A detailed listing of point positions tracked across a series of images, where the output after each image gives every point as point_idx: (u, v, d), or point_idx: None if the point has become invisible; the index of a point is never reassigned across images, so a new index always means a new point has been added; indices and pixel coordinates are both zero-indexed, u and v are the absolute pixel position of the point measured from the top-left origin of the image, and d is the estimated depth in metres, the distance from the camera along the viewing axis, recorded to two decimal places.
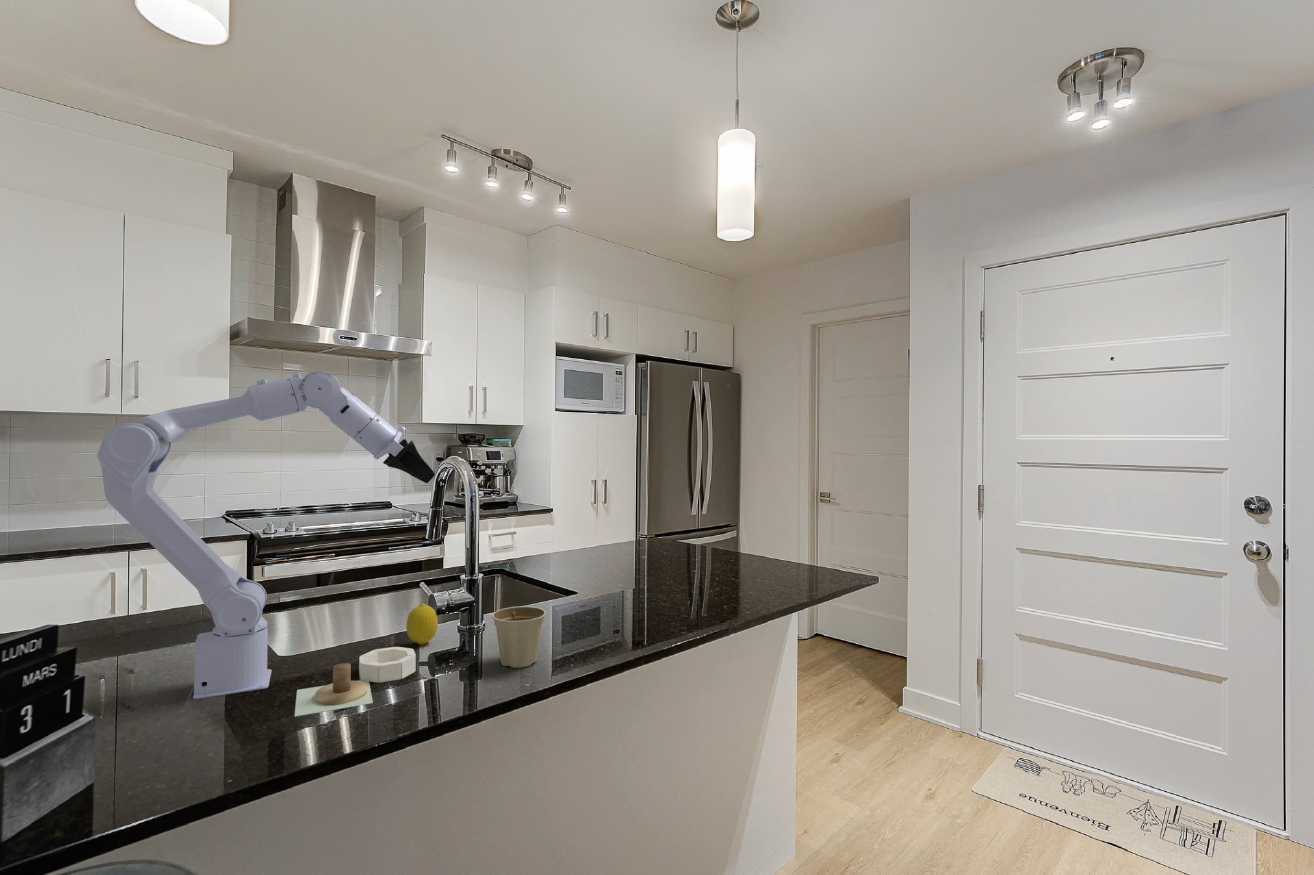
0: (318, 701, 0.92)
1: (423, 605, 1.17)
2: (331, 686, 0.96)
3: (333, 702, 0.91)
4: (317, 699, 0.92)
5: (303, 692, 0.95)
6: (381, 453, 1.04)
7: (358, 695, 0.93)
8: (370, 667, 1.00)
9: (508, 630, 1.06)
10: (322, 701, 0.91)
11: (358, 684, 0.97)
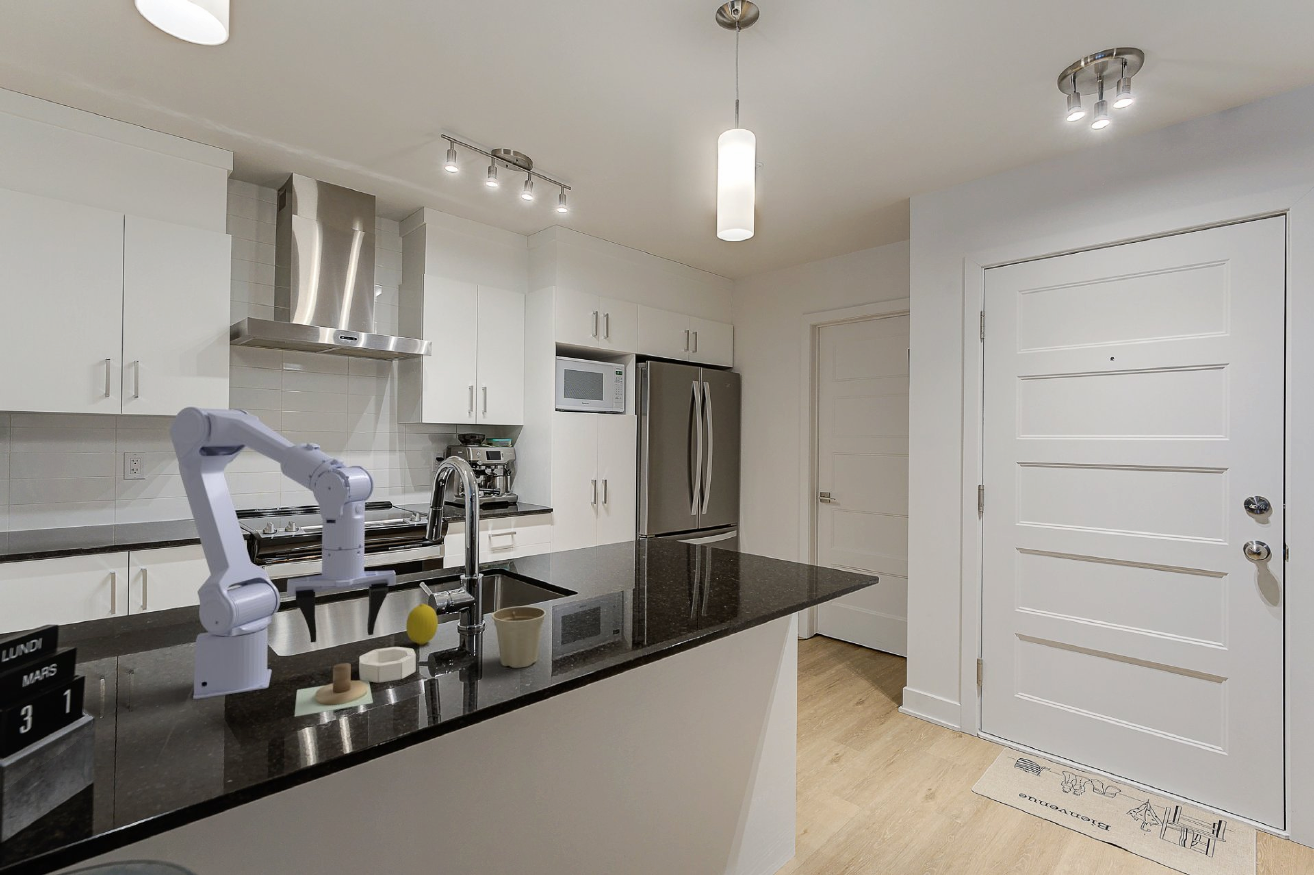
0: (318, 701, 0.92)
1: (423, 605, 1.17)
2: (331, 686, 0.96)
3: (333, 702, 0.91)
4: (317, 699, 0.92)
5: (303, 692, 0.95)
6: (314, 577, 0.94)
7: (358, 695, 0.93)
8: (370, 667, 1.00)
9: (508, 630, 1.06)
10: (322, 701, 0.91)
11: (358, 684, 0.97)
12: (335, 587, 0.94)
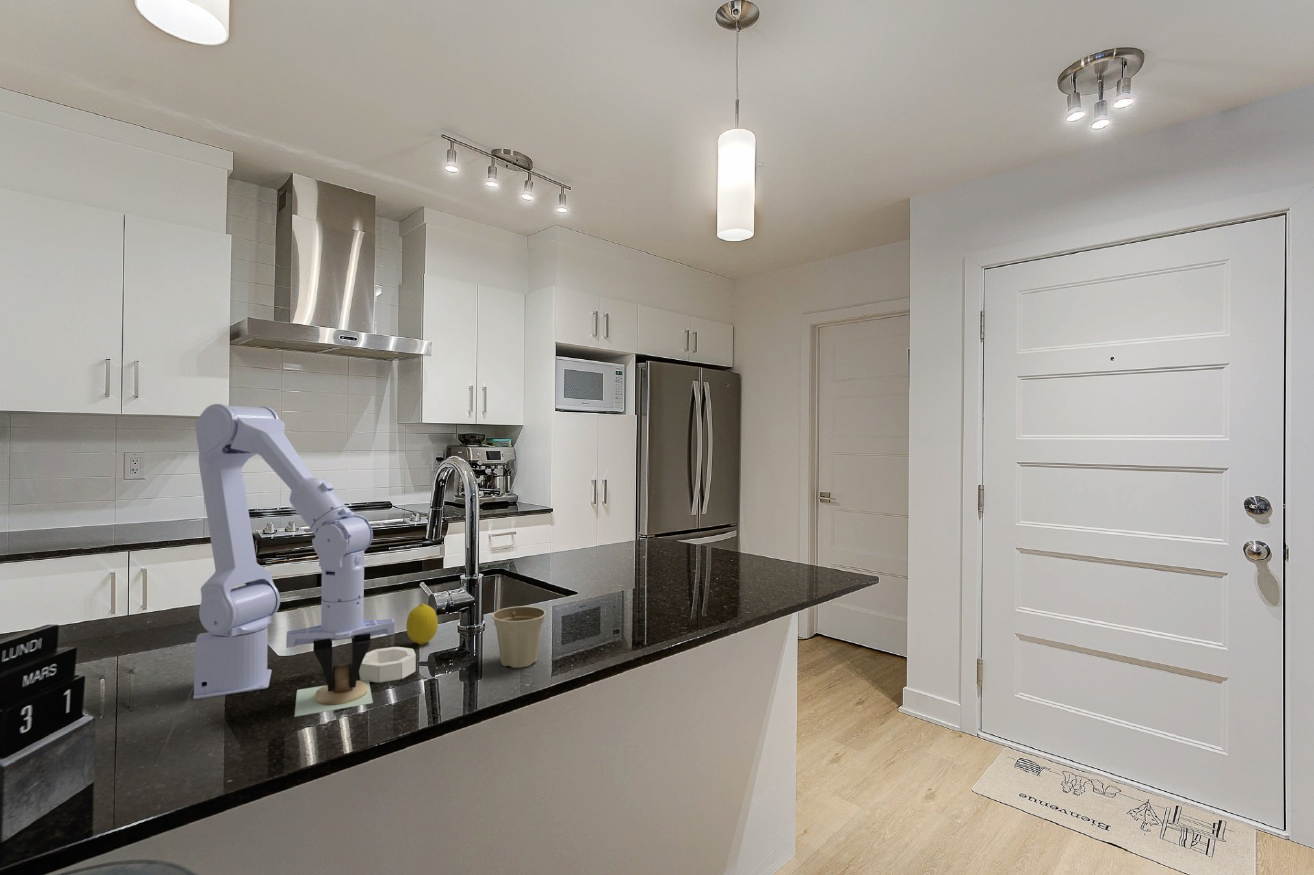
0: (318, 701, 0.92)
1: (423, 605, 1.17)
2: None
3: (333, 702, 0.91)
4: (317, 699, 0.92)
5: (303, 692, 0.95)
6: None
7: (358, 695, 0.93)
8: (370, 667, 1.00)
9: (508, 630, 1.06)
10: (322, 701, 0.91)
11: (358, 684, 0.97)
12: (334, 638, 0.94)
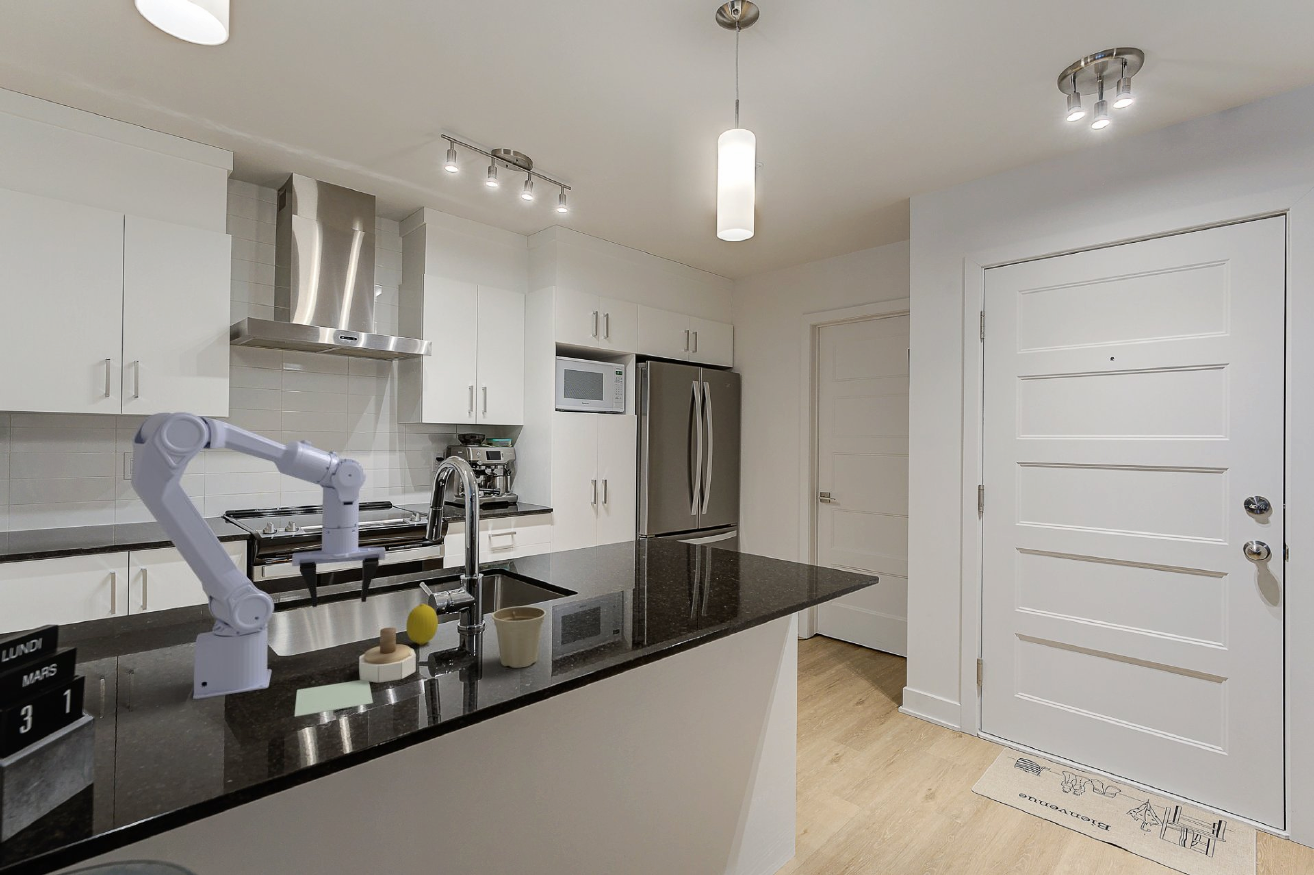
0: (367, 660, 1.01)
1: (423, 605, 1.17)
2: (378, 648, 1.05)
3: (380, 661, 1.00)
4: (366, 658, 1.01)
5: (303, 692, 0.95)
6: (315, 552, 1.10)
7: (402, 656, 1.02)
8: (370, 667, 1.00)
9: (508, 630, 1.06)
10: (371, 660, 1.01)
11: (402, 647, 1.06)
12: (333, 560, 1.10)
